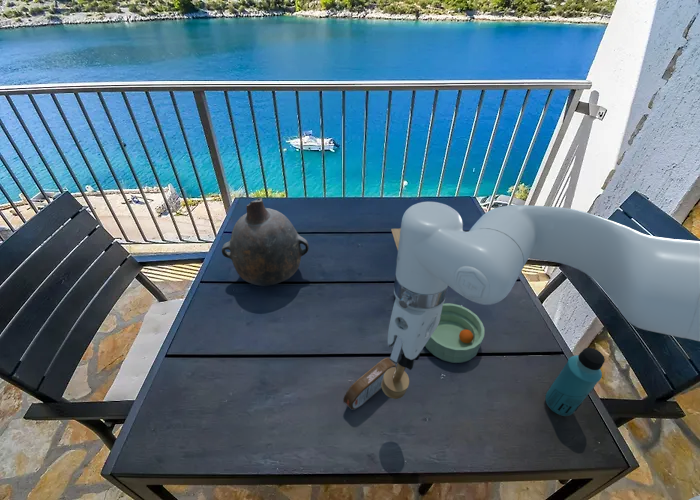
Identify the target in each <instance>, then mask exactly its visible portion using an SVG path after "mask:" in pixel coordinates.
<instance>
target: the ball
mask: <svg viewBox="0 0 700 500" xmlns="http://www.w3.org/2000/svg"><path fill="white" fill-rule="evenodd" d="M459 338H460V340H461V341H462V342H464V343H470V342H471V341H472V340H473V334H472V332H471V331H469V330H466V329H465V330H462V331H461V332H460V334H459Z"/></svg>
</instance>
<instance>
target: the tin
mask: <svg viewBox="0 0 700 500" xmlns="http://www.w3.org/2000/svg"><path fill="white" fill-rule="evenodd" d="M396 366H397V364H396V363H394V362H393V361H391V360H390V357H385V358H383V359H381V360H380V361H378V362H377V363H376V364H375V365H373V367H371V368H370V369H369V370H368V371H366V372H365V373H363V375H362V376H360V377H359V378H357V380H355V381H354V382H353V384H352V385H350V387H349V388H348V389H347V391H346V392H345V394H344V396H343V403H344V404H346V405H347V407H348V408H349V409H351V410H352V411H353V410H357V409H359V408H360V407H362V406H363V405H364V404H365V403H367V401H368V400H370V399H371V398H372V397H373V396H375V395H376V394H377V393H378V392H379V391H380V390H382V387H381V383H382V379H383V376H384V373H385V372H386V371H387V370H388V369H389V368H393V367H396Z"/></svg>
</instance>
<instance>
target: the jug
mask: <svg viewBox="0 0 700 500" xmlns="http://www.w3.org/2000/svg"><path fill="white" fill-rule="evenodd" d="M245 207H246V213H244V214H243V215H242V216H240V217H239V218H238V219H237V221H236V222H235V224H234V226H233V228H232V231H231V235H230V239H229V241H227V242H225V243H224V244H223V245H222V247H221V253H222V256H223V257H224V258H227V259H228V260H229V259H230V260H231V262H232V264H233V267H234V269H235V271H236V273H237V275H238V276H239V277H240V278H241V279H242V280H243V281H245V282H246V283H249V284H252V285H256V286H272V285H277V284H279V283H283V282H285V281H287V280H289V279H290V278H291V277H293V276H294V275H295V274H296V272H297V271H298V269H299V267H300V264H301V259H302V257H303V256H305V255H306V254H308V252H309V248H310V245H309V241H308V240H307V239H306V238H305V237H303V236H301V235H300V234H299V233H298V231H297V229H296V227H294V224H293V223H292V222H291V220H289V218H288V217H287V216H286V215H285V214H283V213H282V212H280V211H279V210H276V209H273V208H269V207H266V206H265V204H264V201H263V198H262V197H257V199H255V200H251V201H250V202H249V203H248V204H247V205H246V206H245ZM301 245H303V246H304V247H305V248H302V246H301ZM227 250H228V251H227Z"/></svg>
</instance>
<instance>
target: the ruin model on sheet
mask: <svg viewBox="0 0 700 500" xmlns="http://www.w3.org/2000/svg"><path fill="white" fill-rule="evenodd" d="M390 230H391V233H392V236H393V240H394V244H395V246H396V250H398V248H399V239H400V230H401V227H400V228H391V229H390Z"/></svg>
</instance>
